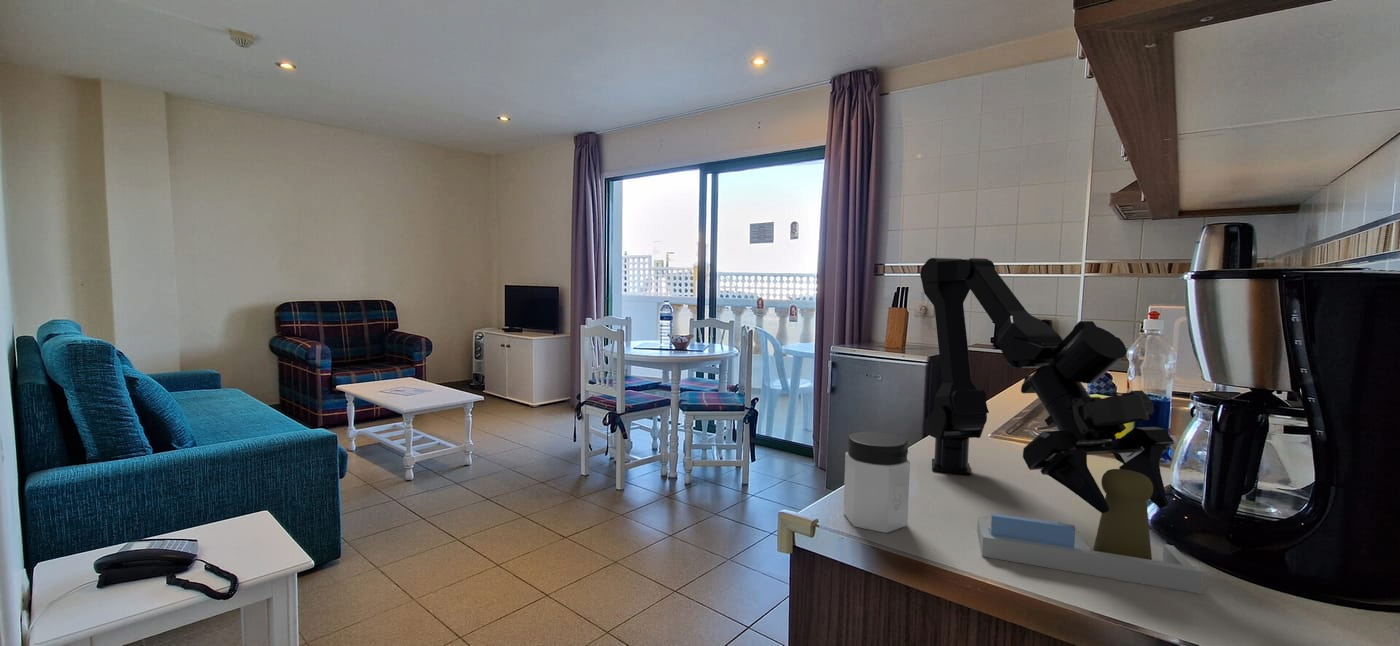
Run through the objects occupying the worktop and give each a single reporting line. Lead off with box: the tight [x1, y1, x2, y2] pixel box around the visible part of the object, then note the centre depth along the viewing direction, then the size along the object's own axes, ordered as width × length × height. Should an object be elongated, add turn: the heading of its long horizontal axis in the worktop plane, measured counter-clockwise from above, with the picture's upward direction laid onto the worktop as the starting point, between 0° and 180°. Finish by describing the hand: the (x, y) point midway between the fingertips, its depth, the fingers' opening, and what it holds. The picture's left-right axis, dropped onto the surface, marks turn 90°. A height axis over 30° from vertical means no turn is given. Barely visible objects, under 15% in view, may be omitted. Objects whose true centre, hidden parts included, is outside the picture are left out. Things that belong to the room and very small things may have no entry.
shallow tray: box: [976, 513, 1204, 595], centre depth 72 cm, size 9×22×5 cm, turn 68°
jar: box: [843, 431, 911, 534], centre depth 82 cm, size 9×8×12 cm
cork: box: [1092, 468, 1153, 560], centre depth 72 cm, size 6×6×11 cm
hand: (1135, 509), depth 71 cm, fingers open, 8 cm apart
